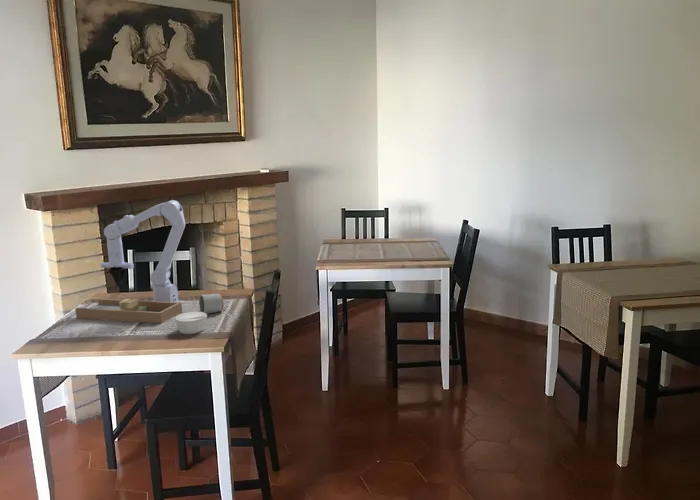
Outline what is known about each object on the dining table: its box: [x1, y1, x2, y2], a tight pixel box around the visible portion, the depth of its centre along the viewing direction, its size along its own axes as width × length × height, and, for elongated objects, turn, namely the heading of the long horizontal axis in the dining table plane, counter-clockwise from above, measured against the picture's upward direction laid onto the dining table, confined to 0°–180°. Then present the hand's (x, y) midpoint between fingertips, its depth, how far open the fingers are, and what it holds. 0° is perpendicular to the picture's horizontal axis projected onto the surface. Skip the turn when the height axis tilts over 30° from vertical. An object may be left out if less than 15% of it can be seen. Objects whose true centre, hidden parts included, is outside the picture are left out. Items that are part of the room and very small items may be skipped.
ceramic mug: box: [198, 293, 225, 315], centre depth 232 cm, size 11×8×8 cm
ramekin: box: [174, 311, 208, 335], centre depth 210 cm, size 11×11×5 cm
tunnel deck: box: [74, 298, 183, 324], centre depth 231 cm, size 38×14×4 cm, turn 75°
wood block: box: [119, 298, 139, 311], centre depth 230 cm, size 5×5×4 cm
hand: (119, 285), depth 242 cm, fingers closed
